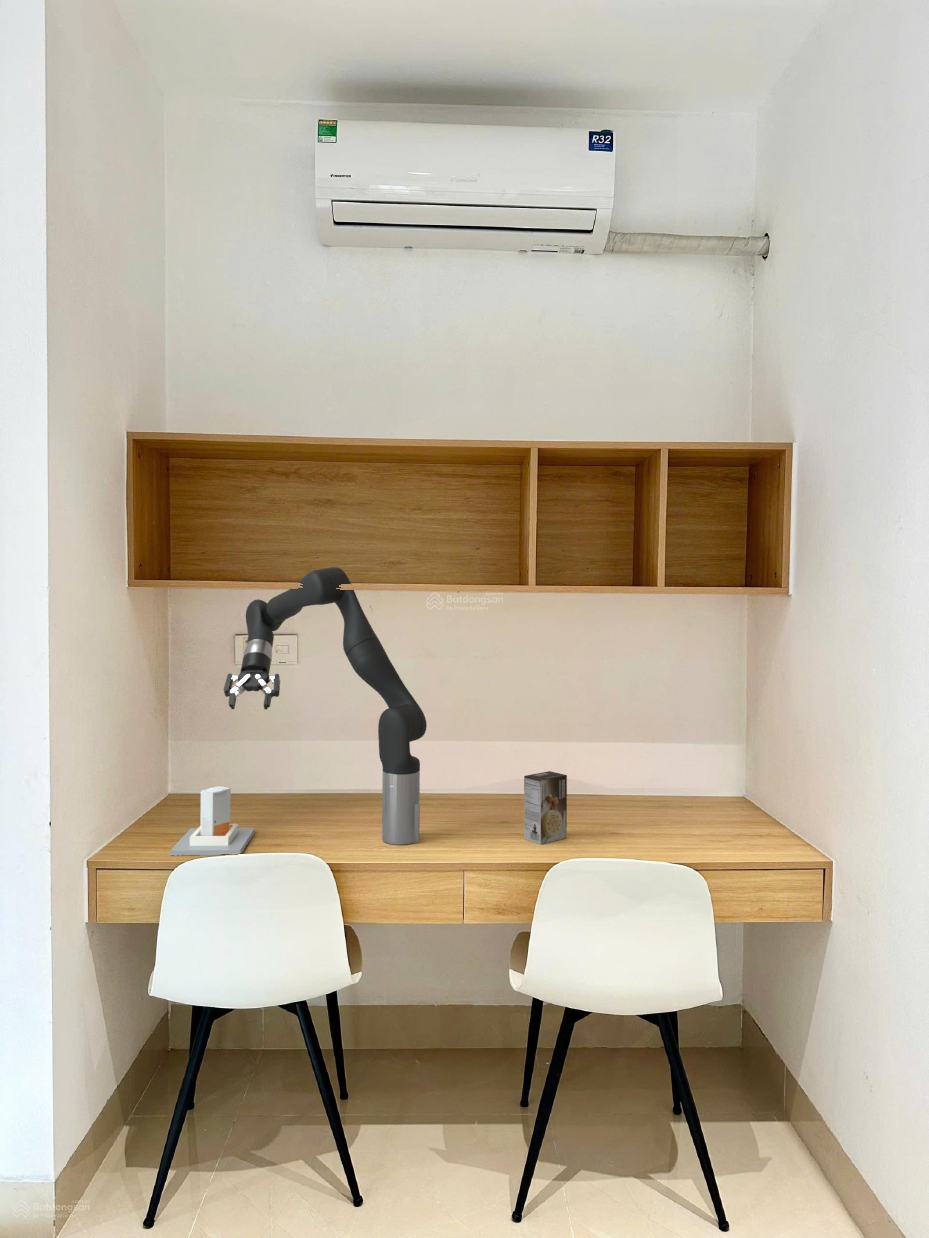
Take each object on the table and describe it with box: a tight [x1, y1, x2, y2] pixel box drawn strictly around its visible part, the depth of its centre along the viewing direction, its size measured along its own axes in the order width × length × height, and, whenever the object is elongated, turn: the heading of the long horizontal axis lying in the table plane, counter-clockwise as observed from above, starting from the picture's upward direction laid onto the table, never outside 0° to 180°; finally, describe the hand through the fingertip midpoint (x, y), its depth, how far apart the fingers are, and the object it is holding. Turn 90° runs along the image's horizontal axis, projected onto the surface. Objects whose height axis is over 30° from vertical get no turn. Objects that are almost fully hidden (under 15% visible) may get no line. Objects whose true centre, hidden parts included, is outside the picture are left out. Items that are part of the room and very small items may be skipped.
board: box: [169, 823, 256, 857], centre depth 206 cm, size 16×18×3 cm
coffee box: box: [523, 770, 568, 845], centre depth 212 cm, size 9×6×16 cm
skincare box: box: [199, 785, 232, 836], centre depth 206 cm, size 6×4×12 cm
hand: (248, 707), depth 221 cm, fingers open, 8 cm apart
